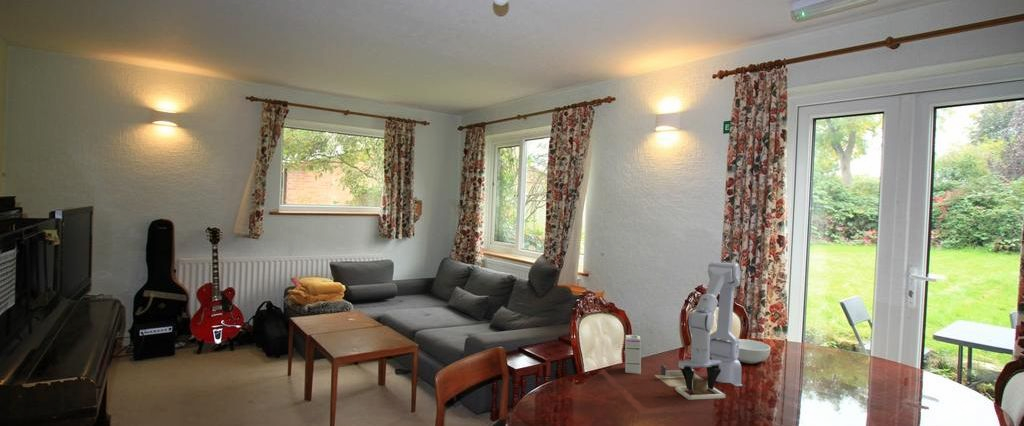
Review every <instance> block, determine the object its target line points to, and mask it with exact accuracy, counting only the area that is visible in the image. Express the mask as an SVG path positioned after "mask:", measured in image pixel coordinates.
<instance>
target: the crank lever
mask: <svg viewBox="0 0 1024 426" xmlns="http://www.w3.org/2000/svg"><path fill="white" fill-rule="evenodd" d="M691 369H692V371H694V374H693V377H695V374H696V370H695V369H696V368H691ZM660 375H661V376H662V377H677V376H683V373H682V371H681V369H670V370H669V369H668V370H667V365H664V364H661V365H660Z"/></svg>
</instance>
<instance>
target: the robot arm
mask: <svg viewBox="0 0 1024 426" xmlns="http://www.w3.org/2000/svg"><path fill="white" fill-rule="evenodd" d="M707 274H708V278H709V281H708V285H707V288H706V292H705V293H704V294H702V295H701V296H700V298H699V300H698V303H697V306H696V307H695V309H694V311H692V312H691V313H690V314H689V317H688V326H689V332H690V334H691V353H690V354H691V357H690V358H691V359H686V360H679V361H678V368H679V370H681V371H682V373H683V376H684V378H685V382H686V387H687V389H688V390H687V391H693V390H692V379H693V374H694V371H692V369H696V368H706V374H707V382H708V388H710V389H713V387H714V388H715V385H716V382H718V383H724V384H725V383H726V384H729V383H730V384H732V385H733V386H736V387H743V384H742V364H741V361H739V360H738V359H737V358H738V356H739V340H738V336H737V337H736V335H734V333H732V324H733V313H734V301H735V300H734V299H735V290H736V287H739V286H740V283H741V275H742V272H741V266H740V265H739V263H737V262H735V263H733V262H722V261H720V262H719V261H714V260H712V261H710V262H709V264H708V267H707ZM718 295H719V298H718V299H719V300H718V299H717V297H718ZM717 306H718V309H717ZM716 310H718V311H717V321H716V323H717V325H716V330H715V331H714V332H712V333H711V331H712V329H713V326H714V319H715V316H714V314H715V311H716ZM728 341H730V342H728ZM710 358H711V359H710ZM691 368H692V369H691Z"/></svg>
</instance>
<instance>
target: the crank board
mask: <svg viewBox="0 0 1024 426" xmlns="http://www.w3.org/2000/svg"><path fill="white" fill-rule="evenodd" d="M654 376H655V378H657V379H659V381H661V382H663V383H664V384H665V385H666V386H668V387H673V388H675V387H681V386H686V382H685V378H684V376H677V377H662V376H661V374H654ZM693 378H702V377H700V376H699V375H698V374H696V373H695V377H693ZM707 385H708V381H707ZM692 386H693V379H692Z"/></svg>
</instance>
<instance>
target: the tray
mask: <svg viewBox="0 0 1024 426" xmlns="http://www.w3.org/2000/svg"><path fill="white" fill-rule="evenodd" d="M674 390H675V392H677V393H679V394H680V395H682V396H683V397H684V398H685V399H687V400H692V401H693V400H710V399H711V400H712V399H726V397H727V396H726V394H725V393H724V392H722V391H720V390H719V389H717V388H716V387H715V386H714V387H713V389H710V388H708V385H707V390H709V391H711V392H712V393H710V394H709V393H708V394H706V395H694V394H689V393H687V392H686V391H689V390H688V389H687V387H686V386H676V387H674ZM691 391H693V386H692V390H691Z"/></svg>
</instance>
